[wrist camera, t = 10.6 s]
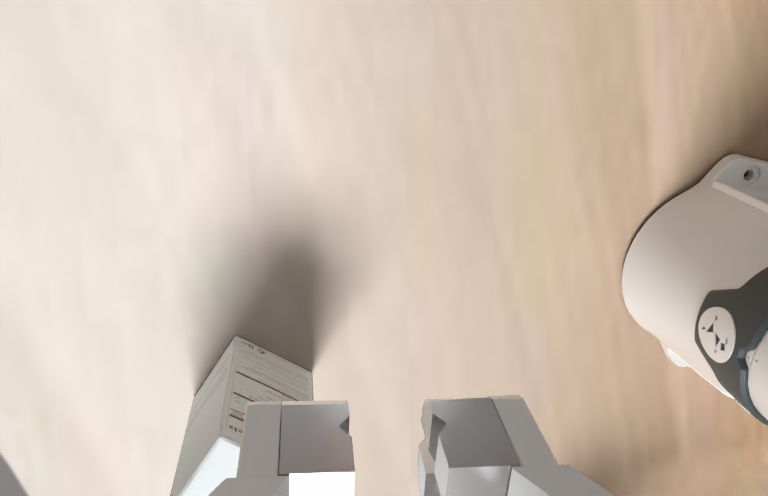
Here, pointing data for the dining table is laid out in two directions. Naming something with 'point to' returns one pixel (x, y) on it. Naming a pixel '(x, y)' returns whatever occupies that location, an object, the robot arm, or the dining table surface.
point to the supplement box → (232, 412)
